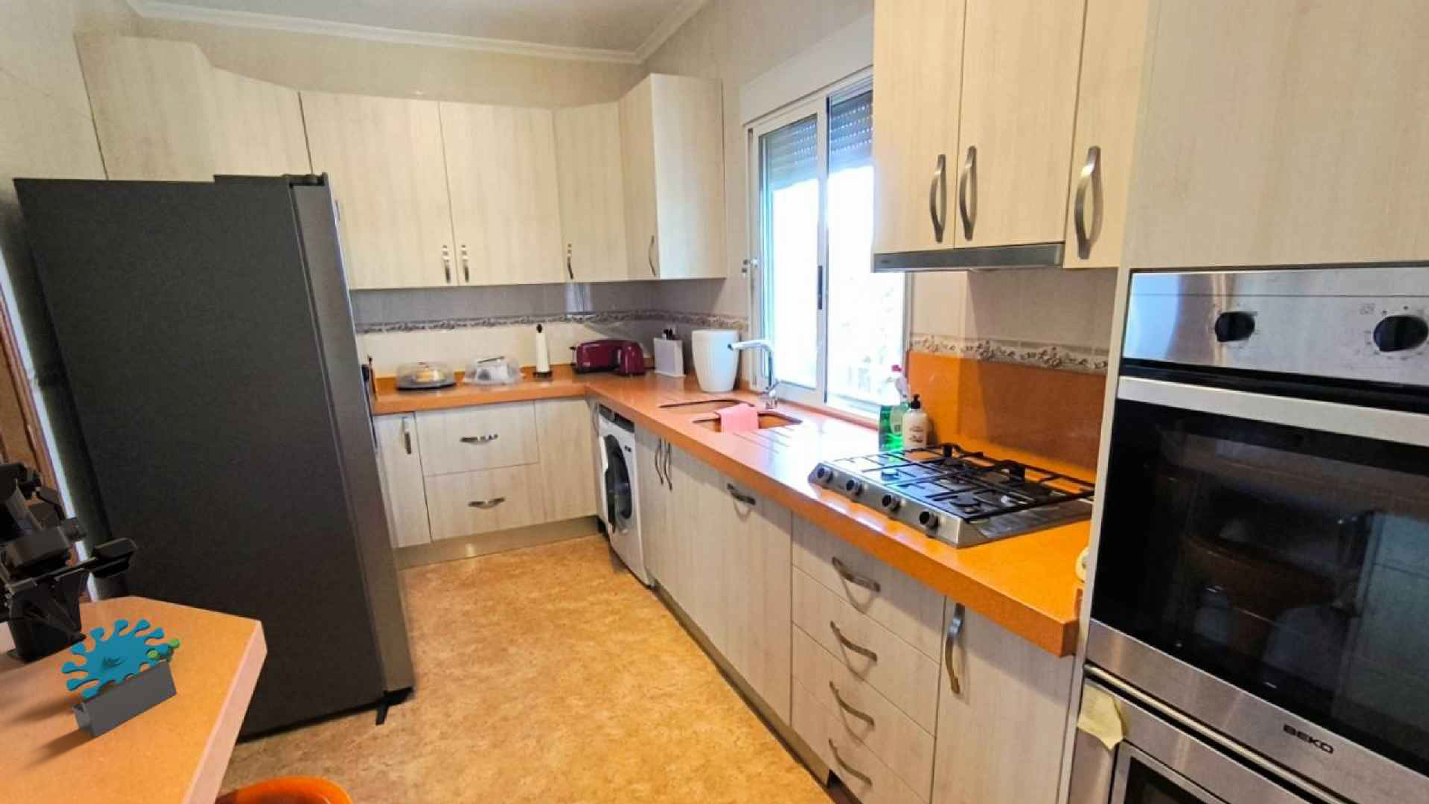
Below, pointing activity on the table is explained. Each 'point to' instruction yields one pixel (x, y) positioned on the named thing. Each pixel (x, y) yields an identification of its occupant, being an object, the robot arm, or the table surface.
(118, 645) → the gear
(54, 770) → the table surface
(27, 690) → the table surface
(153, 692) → the bay frame
